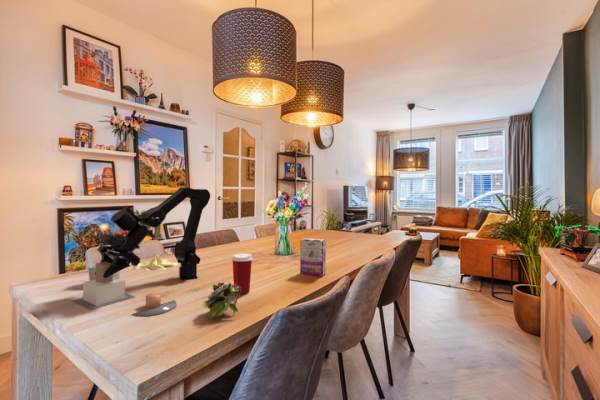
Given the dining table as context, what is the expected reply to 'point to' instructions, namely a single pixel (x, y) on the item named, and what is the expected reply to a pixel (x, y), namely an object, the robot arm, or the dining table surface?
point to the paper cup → (242, 272)
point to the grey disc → (156, 306)
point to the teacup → (93, 269)
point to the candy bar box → (313, 256)
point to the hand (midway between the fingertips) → (99, 276)
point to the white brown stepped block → (103, 287)
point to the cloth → (156, 264)
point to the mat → (91, 306)
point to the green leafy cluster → (221, 299)
